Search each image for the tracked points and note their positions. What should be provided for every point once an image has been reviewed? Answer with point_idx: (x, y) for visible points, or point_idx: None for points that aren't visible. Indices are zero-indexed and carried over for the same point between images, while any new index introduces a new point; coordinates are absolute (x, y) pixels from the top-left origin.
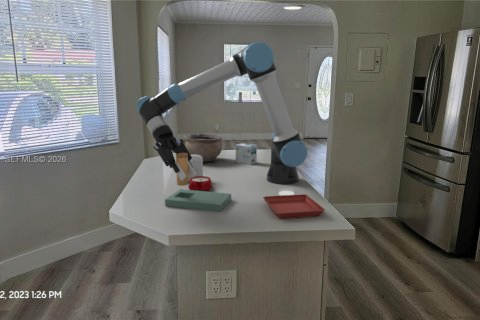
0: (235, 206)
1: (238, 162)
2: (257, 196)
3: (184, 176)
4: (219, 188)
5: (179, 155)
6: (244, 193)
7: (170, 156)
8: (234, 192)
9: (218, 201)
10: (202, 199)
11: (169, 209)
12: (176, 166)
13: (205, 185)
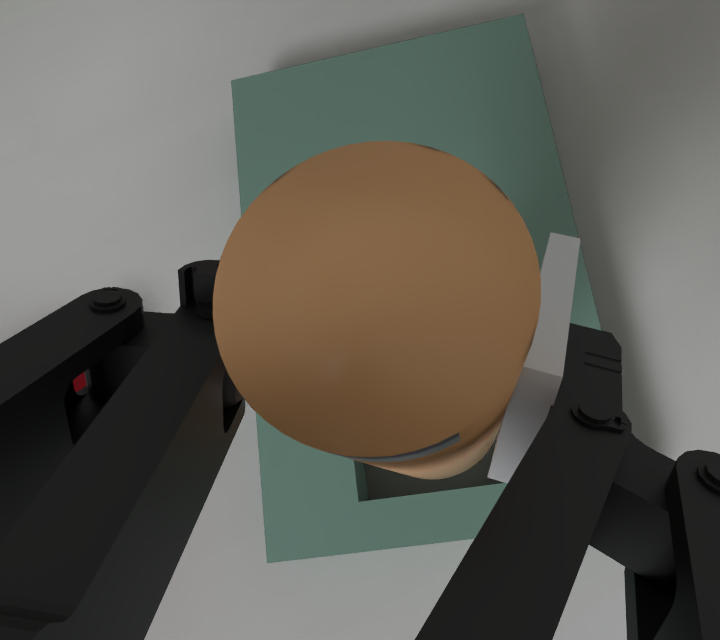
0: (372, 21)
1: None
2: (117, 5)
3: (578, 245)
4: (5, 327)
5: (534, 266)
6: (78, 103)
7: (575, 573)
8: (75, 174)
9: (453, 64)
10: None
11: (692, 417)
12: (579, 375)
13: (83, 381)
